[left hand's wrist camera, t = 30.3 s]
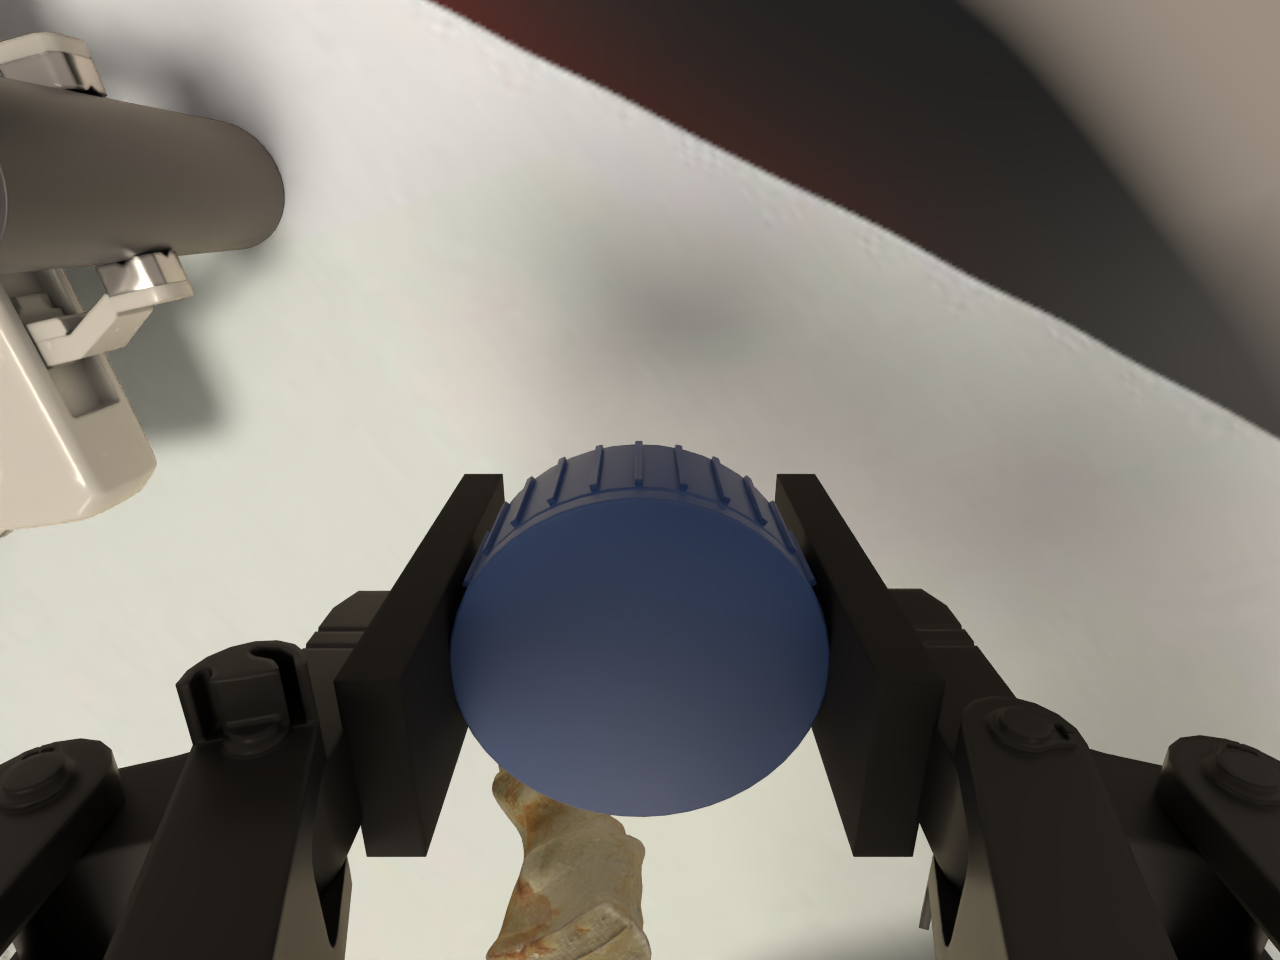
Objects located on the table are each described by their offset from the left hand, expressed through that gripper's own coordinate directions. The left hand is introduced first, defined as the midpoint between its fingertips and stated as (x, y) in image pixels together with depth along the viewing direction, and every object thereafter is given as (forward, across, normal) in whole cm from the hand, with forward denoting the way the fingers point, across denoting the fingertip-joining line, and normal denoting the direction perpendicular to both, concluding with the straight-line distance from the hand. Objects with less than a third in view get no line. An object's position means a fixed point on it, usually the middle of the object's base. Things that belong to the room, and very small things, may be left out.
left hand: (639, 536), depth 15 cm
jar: (+18, +17, -7) cm, 25 cm away
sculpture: (+17, +3, +17) cm, 24 cm away
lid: (-4, 0, 0) cm, 4 cm away
